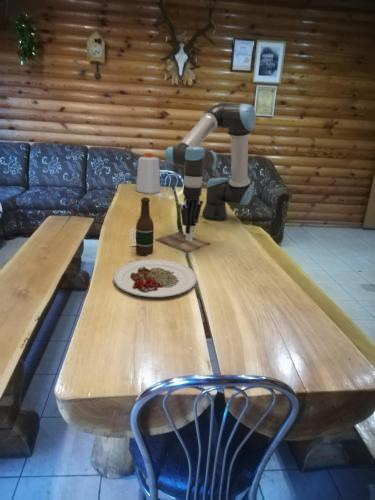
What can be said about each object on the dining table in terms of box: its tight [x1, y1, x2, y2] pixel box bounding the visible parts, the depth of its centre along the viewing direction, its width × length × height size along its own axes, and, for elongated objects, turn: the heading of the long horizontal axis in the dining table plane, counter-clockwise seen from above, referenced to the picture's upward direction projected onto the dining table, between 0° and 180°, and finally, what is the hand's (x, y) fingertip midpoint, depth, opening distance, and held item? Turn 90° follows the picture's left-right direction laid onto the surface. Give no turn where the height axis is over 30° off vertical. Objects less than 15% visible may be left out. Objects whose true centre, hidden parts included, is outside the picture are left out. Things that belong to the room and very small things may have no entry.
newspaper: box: [128, 228, 136, 248], centre depth 164 cm, size 24×7×2 cm, turn 10°
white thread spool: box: [135, 152, 161, 195], centre depth 254 cm, size 15×15×28 cm
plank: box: [173, 238, 211, 254], centre depth 157 cm, size 16×8×1 cm, turn 139°
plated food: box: [112, 258, 197, 298], centre depth 125 cm, size 30×30×3 cm
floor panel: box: [154, 231, 197, 249], centre depth 164 cm, size 16×12×1 cm
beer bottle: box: [135, 197, 155, 257], centre depth 144 cm, size 8×8×24 cm
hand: (188, 239), depth 150 cm, fingers closed
